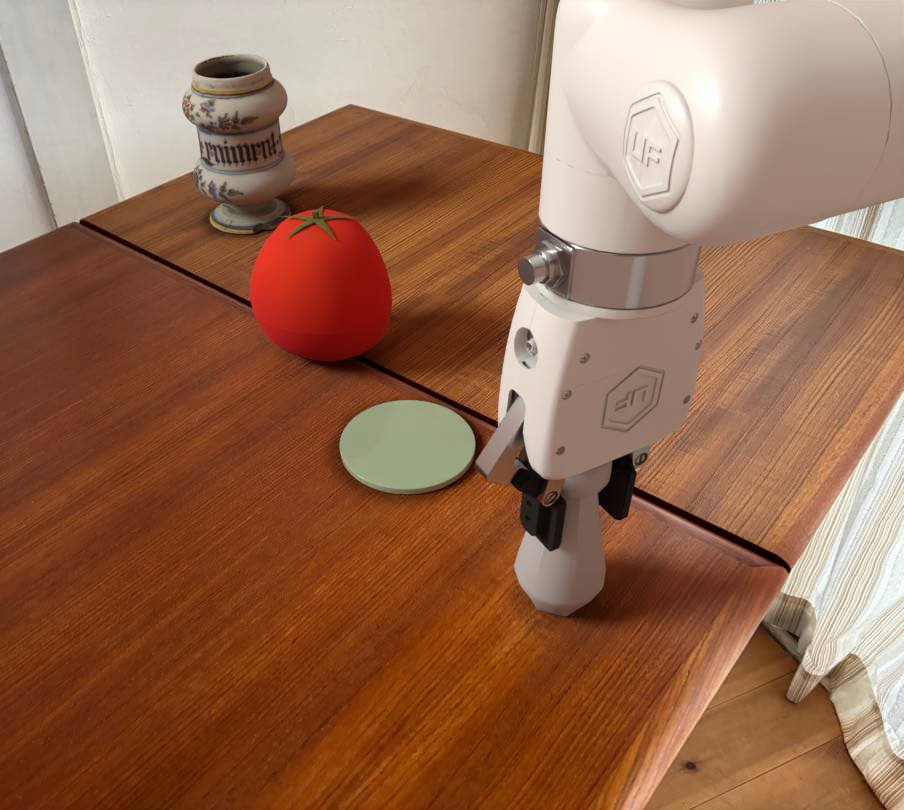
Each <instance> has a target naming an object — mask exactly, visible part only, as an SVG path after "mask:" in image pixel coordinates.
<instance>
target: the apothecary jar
mask: <svg viewBox="0 0 904 810" xmlns="http://www.w3.org/2000/svg"><path fill="white" fill-rule="evenodd" d="M288 98H289V97H288V93H287V90H286V88H285V87H284V85H283V84H282V83H281V82H280V81H279V80H278V79H276V78H275V77H273V74H272V72H271V68H270V64H269V62H268V61H267V60H266V58H264V57H262V56H259V55H256V54H250V53H229V54H223V55H217V56H213V57H212V56H211V57H209V58H206V59H204V60H201V61H199V62H198V63H196V64H195V65H193V67H192V70H191V85H190V86H189V87H188V89H187V90H186V91H185V93H184V95H183V97H182V101H181V109H182V112H183V115H184V116H185V118H186V119H187V120H188V121H189V122H190V123H191V124H192V125H194V126H195V127H196V132H197V138H198V144H199V152H200V157H199V158H198V159H197V161H196V163H195V165H194V168H193V174H192V176H193V182H194V185H195V187H196V189H197V190H198V191H199V192H200V193H201V194H202V195H204V196H205V197H206V198H208V199H210V200H212V201H214V202H216V203H218V204H219V203H220V204H219V205H217V206H216V207H215V208H213V209H212V211H211V212H210V214H209V222H210V224H211V225H212V226H213V227H214V228H215V229H217V230H219V231H221V232H223V233H226V234H233V235H253V234H256V233H259V232H261V231H265V230H267V231H271V230H275V229H276V228H277V227H278V226H279V225H280V224H281V223H282V222H283V221H285V220H286V219H287V218H289V217H279V216H291V214H292V211H291V208H290V206H289V205H288V204H287V203H286V202H285V201H283V200H281V199H280V198H277V197H279V196H280V195H281V194H283V193H285V192H286V191H287V190H288V189H289V187H290V186H291V185H292V183H293V182H294V180H295V177H296V172H297V166H296V162H295V160H294V158H293V157H292V155H291V154H290V153H289V152H288V151H287V150H286V149H285V148H284V145H283V139H282V132H281V124H280V123H281V122H280V117H281V116H282V115H283V113H284V112H285V110H286V108H287V105H288V101H289V100H288Z"/></svg>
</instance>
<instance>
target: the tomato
mask: <svg viewBox="0 0 904 810" xmlns="http://www.w3.org/2000/svg"><path fill="white" fill-rule="evenodd" d="M279 217H289V218H287V219H286V220H285V221H283V222H282V223H281V224H280V225H279V226H278V227H277V228H275V229H274V231H272V233H271V234H269V236H268V237H267V238H266V239H265V241H264V242H263V245H262V247H261V249H260V251H259V252H258V255H257V257H256V259H255V261H254V266H253V268H252V272H251V276H250V285H249V286H250V287H249V299H250V303H251V308H252V312H253V316H254V317H255V320H256V322H257V324H258V326H259V327H260V329H261V330H262V332H263V333H264V334H265V335H266V337H267V338H268V339H269V340H270V341H271V342H272V343H273V344H274V345H275V346H277V347H278V348H280V349H281V350H282V351H284V352H287V353H288V354H290V355H294V356H296V357H301V358H304V359H309V360H313V361H320V362H336V361H342V360H347V359H351V358H354V357H357V356H360V355H363V354H364V353H366V352H368V351H370V350H371V349H373V348H374V347H376V346H377V345H378V344H379V343H380V341H381V340H382V339H383V337H384V335H385V334H386V333H387V331H388V327H389V323H390V320H391V316H392V307H393V293H392V285H391V281H390V277H389V273H388V269H387V265H386V263H385V261H384V258H383V256H382V253H381V251H380V249H379V248H378V246H377V244H376V243H375V241H374V239H373V238H372V236H371V234H370V233H369V231H367V230H366V228H365V227H364V226H363V225H362V224H361V223H360V221H358V220H357V219H358V218H359V216H351V215H349V214H347V213H344V212H341V211H336V210H333V209H327V208H326V209H324V205H322V206H320V207H319V208H318V209H317V208H316V209H309V210H305V211H301V212H299V213H296V214H293V215H290V216H279Z"/></svg>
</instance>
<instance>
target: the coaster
mask: <svg viewBox="0 0 904 810" xmlns="http://www.w3.org/2000/svg"><path fill="white" fill-rule="evenodd" d="M476 444H477V443H476V437H475V434H474V431H473V429H472V427H471V426H470V425H469V423H468V422H467V421H466V420H465V419H464V418H463V417H462V416H461V415H459V414H458V413H456V411H454V410H452V409H450V408H448V407H446V406H444V405H441V404H437V403H434V402H430V401H425V400H417V399H399V400H391V401H386V402H382V403H379V404H376V405H372V406H371V407H368V408H366V409H365V410H363V411H361V412H360V413H358V414H357V415H355V416H354V417H352V419H351V420H350V421H349V422H348V423H347V425H346V426H345V427H344V429H343V431H342V433H341V435H340V439H339V454H340V459H341V462H342V464H343V466H344V467H345V469H346V470H347V472H348V473H349V474H350V475H351V476H352V477H353V478H354V479H355V480H357V481H358V482H359V483H361V484H363V485H364V486H367V487H369V488H371V489H374V490H377V491H380V492H384V493H387V494H395V495H419V494H426V493H431V492H435V491H437V490H441V489H443V488H445V487H447V486H450V485H451V484H453V483H455V482H456V481H458V480H459V479H460V478H461V477H462V476H464V475H465V474H466V472H467V471H468V470H469V469H470V467H471V466H472V464H473V462H474V460H475V455H476Z"/></svg>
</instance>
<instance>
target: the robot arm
mask: <svg viewBox="0 0 904 810" xmlns="http://www.w3.org/2000/svg"><path fill="white" fill-rule="evenodd" d="M554 23H555V24H554V31H553V32H554V35H553V43H552V44H553V47H552V57H551V65H550V67H551V68H550V78H549V89H548V100H547V101H548V102H547V111H546V113H547V114H546V121H545V122H546V125H545V136H544V147H543V159H542V170H541V171H542V172H541V182H540V194H539V205H538V206H539V207H538V212H537V222H536V232H535V233H536V234H535V242H534V243H535V244H534V250H533V251H531V253H530V254H529V255H526V256H522V257H521V258H519V260H518V262H517V273H518V276H519V278H520V280H521V282H522V283H523V284H522V287H521V290H520V292H519V296H518V300H517V302H516V306H515V309H514V314H513V317H512V320H511V324H510V328H509V332H508V337H507V341H506V346H505V351H504V357H503V363H502V370H501V377H500V384H499V395H498V405H497V406H498V407H497V424H498V425H497V427H496V429H495V430H494V432H493V434H492V435H491V437H490V438H489V439H488V441H487V443H486V444H485V446H484V447H483V449H482V451H481V452H480V453H479V455H478V457H477V458H476V460H475V462H474V469H475V470H476V471H477V472H478V473H479V474H480V475H481V476H482V477H483V478H484V479H485V481H486V482H488V483H490V484H493V485H499V486H503V487H508V486H510V487H514V489H516V490H517V491H519V492H521V500H520V509H519V520H520V524H521V526H522V528H523V529H524V530H525V532H526V531H527V532H528V533H529V534H530V535H531V536H536V538H537V539H538V540H539V541H540V542H541V543H542V544H543V545H544V546H545V547H546V548H547V550H549V551H550V552H552V551H554V550H556V549H558V548H559V547H560V545H561V540H562V534H563V527H564V520H565V513H566V507H567V504H566V501H565V499H564V498H563V497H562V496H561V495H560V493H561V490H562V488H563V485H564V482H565V479H566V478H568V477H572V476H575V475H577V474H580V473H583V472H585V471H588V470H590V469H593V468H595V467H598V466H600V465H602V464H605V463H607V462H610V461H612V469H611V475H610V479H609V482H608V484H607V485H606V486H605V487H604V488H603V489H602V490H601V491H600V492H599V493H598V501H599V507H601V508H602V509H603V510H604V511H605V512H606V513H607V514H608V515H609V516H610V517H612V519H613V520H617V521H622V520H624V519H627V518H628V516H629V512H630V509H631V508H630V507H631V502H632V498H633V494H634V489H635V484H636V481H637V475H638V471H637V470H636V469H638V468H640V467H642V466H644V465H645V464H646V463H647V462H648V461H649V459H650V455H651V454H650V452H651V451H650V445H653V444H654V443H656V442H658V441H660V440H663V439H665V438H667V437H669V436H671V435H672V434H674V433H675V432H678V430H680V428H682V427H683V425H684V424H685V423H686V421H687V419H688V416H689V414H690V412H691V411H690V410H691V407H692V403H693V399H694V395H695V391H696V387H697V386H696V385H697V380H698V377H699V370H700V364H701V358H702V351H703V343H704V335H705V325H706V324H705V323H706V311H707V309H706V302H707V301H706V300H707V299H706V297H707V296H706V295H707V294H706V282H705V273H704V270H703V268H702V267H701V266H700V265H699V261H700V256H701V252H702V247H710V248H713V247H723V246H724V247H725V246H732V245H738V244H742V243H746V242H748V243H749V242H750V241H755V240H759V239H762V238H766V237H770V236H774V235H777V234H780V233H784V232H787V231H792V230H796V229H798V228H803V227H806V226H809V225H810V226H811V225H814V224H816V223H821V222H823V221H825V220H828V219H831V218H834V217H838V216H841V215H846V214H850V213H853V212H856V211H857V212H858V211H859V210H864V209H867V208H870V207H875V206H878V205H882V204H885V203H888V202H892V201H896V200H899V199H904V0H775V1H769V2H761V3H755V0H559V3H558V5H557V10H556V15H555V22H554Z"/></svg>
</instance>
